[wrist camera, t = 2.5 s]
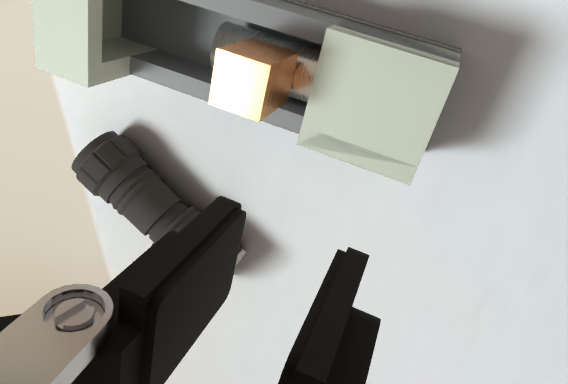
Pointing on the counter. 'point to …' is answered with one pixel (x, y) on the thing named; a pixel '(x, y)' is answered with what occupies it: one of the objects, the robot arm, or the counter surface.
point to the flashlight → (132, 187)
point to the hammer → (258, 71)
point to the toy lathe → (282, 23)
